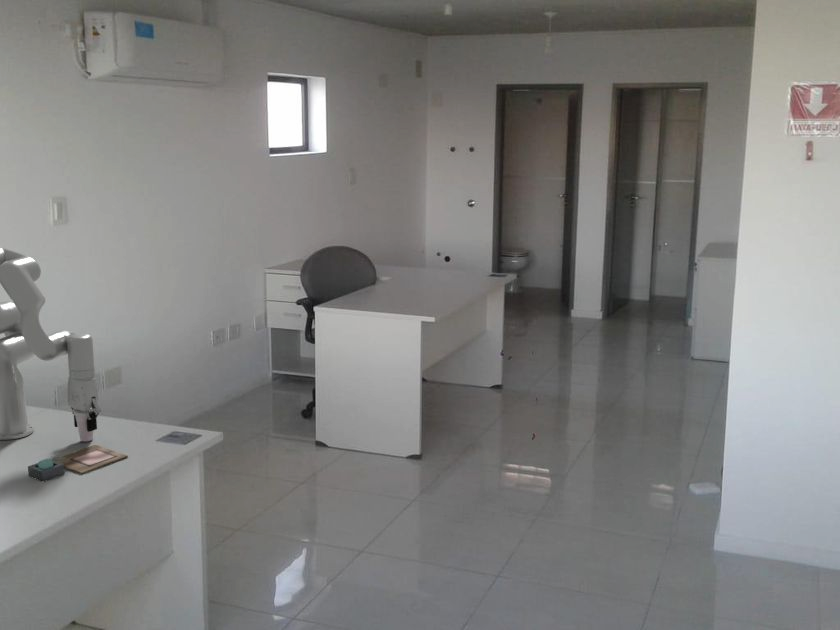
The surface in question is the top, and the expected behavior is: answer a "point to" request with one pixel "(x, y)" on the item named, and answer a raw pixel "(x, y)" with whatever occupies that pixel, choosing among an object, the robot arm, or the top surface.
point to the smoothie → (83, 425)
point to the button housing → (46, 471)
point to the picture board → (89, 459)
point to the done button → (45, 464)
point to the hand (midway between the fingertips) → (85, 427)
